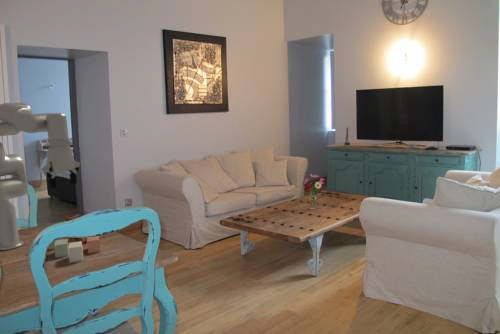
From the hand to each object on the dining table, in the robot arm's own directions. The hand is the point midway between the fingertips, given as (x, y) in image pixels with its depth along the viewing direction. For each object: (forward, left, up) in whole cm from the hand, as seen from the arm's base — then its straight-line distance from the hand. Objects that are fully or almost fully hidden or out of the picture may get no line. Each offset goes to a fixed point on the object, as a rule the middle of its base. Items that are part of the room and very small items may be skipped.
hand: (63, 185), depth 185 cm
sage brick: (-7, -4, -31) cm, 32 cm away
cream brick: (+3, +2, -31) cm, 31 cm away
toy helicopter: (-22, -2, -31) cm, 39 cm away
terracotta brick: (-6, +9, -31) cm, 33 cm away
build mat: (+3, +2, -31) cm, 31 cm away
